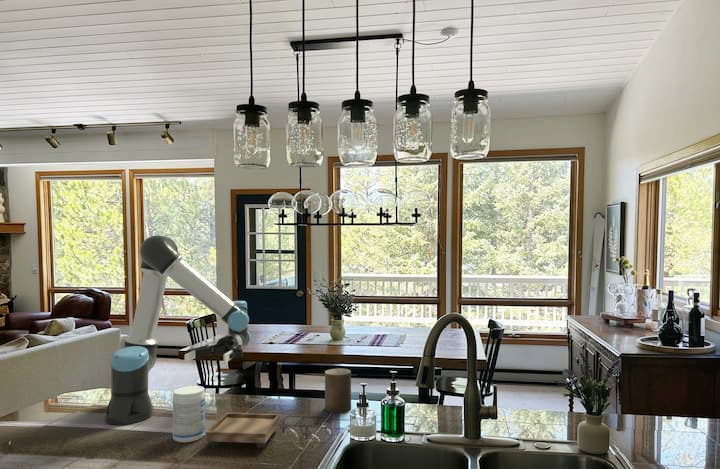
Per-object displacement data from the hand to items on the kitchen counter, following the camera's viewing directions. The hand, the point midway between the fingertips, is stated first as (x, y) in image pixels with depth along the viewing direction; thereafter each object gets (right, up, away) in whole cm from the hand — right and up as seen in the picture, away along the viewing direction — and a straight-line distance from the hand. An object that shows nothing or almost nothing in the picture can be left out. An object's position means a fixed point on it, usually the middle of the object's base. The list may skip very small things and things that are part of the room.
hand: (204, 358), depth 153 cm
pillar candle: (+44, -23, +14) cm, 52 cm away
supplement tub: (-1, -22, -11) cm, 24 cm away
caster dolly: (+17, -21, -12) cm, 30 cm away
